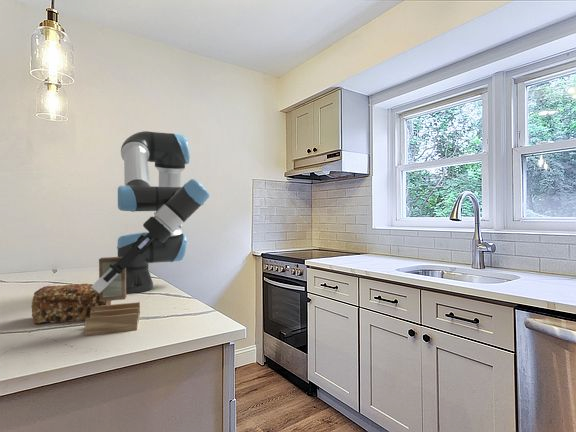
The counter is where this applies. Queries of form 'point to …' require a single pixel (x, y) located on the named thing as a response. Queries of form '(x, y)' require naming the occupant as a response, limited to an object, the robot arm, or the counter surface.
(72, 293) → the bread
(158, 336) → the counter surface
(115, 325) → the divided tray
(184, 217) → the robot arm
